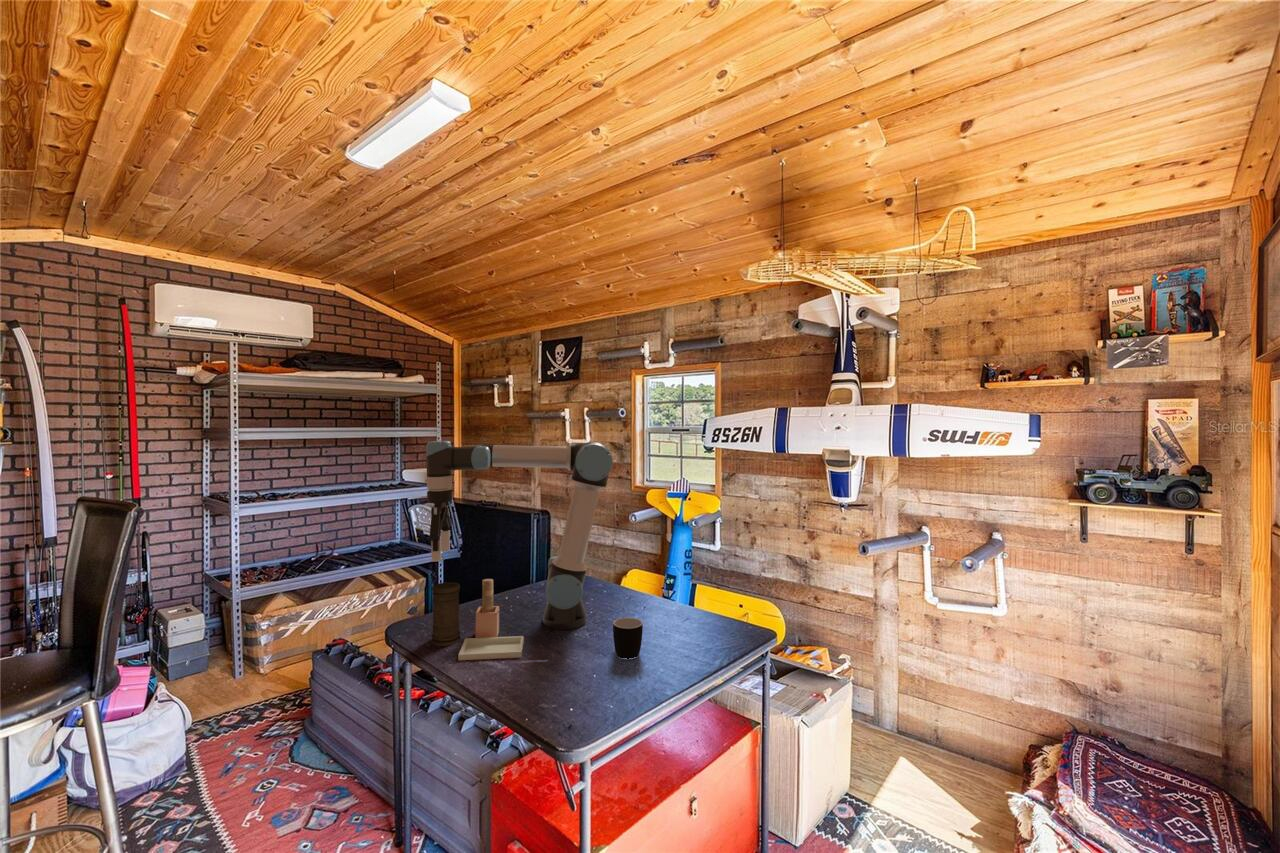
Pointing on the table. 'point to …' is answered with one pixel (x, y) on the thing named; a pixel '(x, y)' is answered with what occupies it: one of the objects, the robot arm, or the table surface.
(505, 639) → the tray
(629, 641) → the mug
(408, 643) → the table surface
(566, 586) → the robot arm
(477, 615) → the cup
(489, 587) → the dowel
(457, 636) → the container
